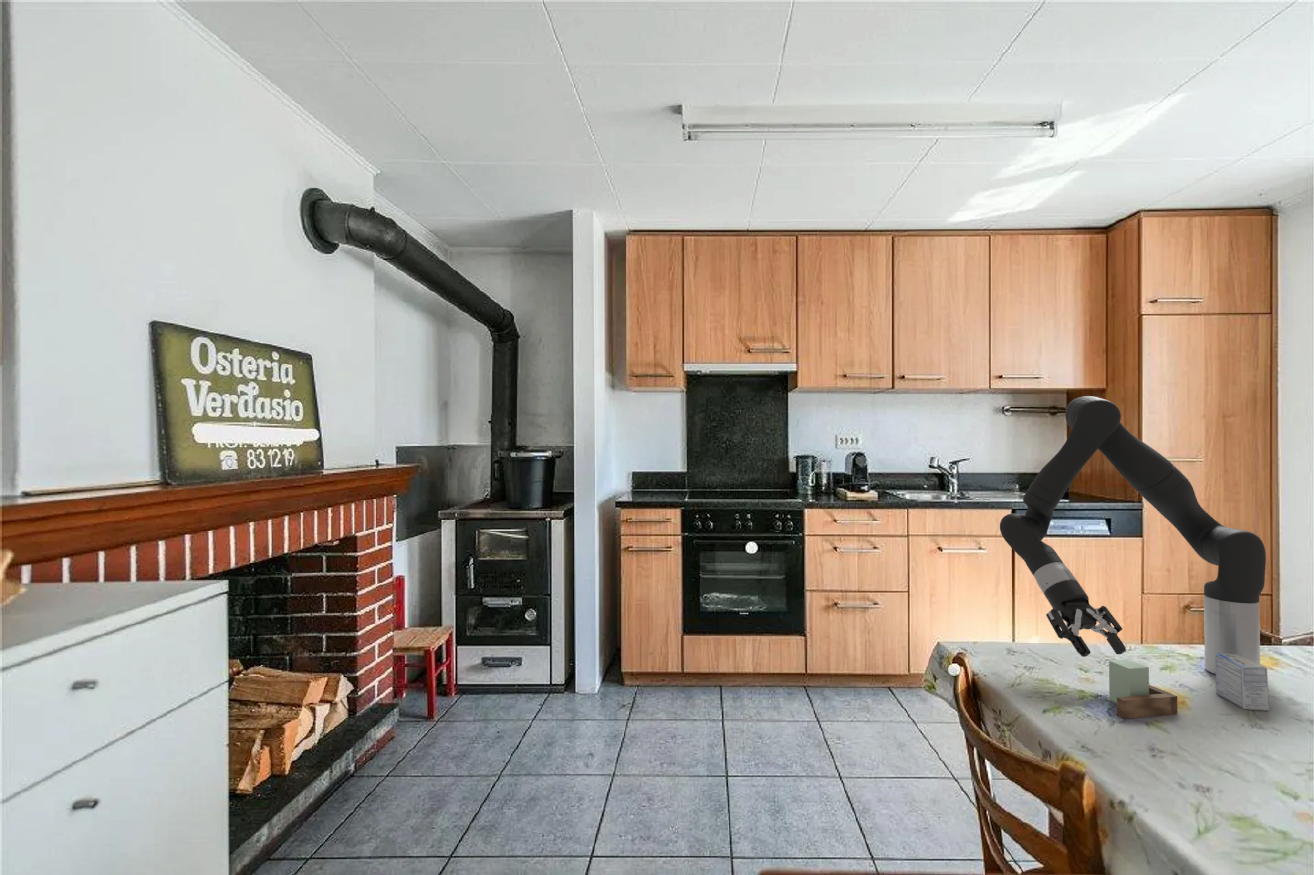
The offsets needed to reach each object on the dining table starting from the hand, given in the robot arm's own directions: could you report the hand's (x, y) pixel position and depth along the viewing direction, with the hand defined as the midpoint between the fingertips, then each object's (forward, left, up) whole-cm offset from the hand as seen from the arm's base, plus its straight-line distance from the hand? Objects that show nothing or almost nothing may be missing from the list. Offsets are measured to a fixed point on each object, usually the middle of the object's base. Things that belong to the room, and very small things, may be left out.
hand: (1104, 653), depth 128 cm
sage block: (+3, +5, -8) cm, 10 cm away
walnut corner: (+3, +4, -8) cm, 10 cm away
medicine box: (-16, +19, -9) cm, 26 cm away
